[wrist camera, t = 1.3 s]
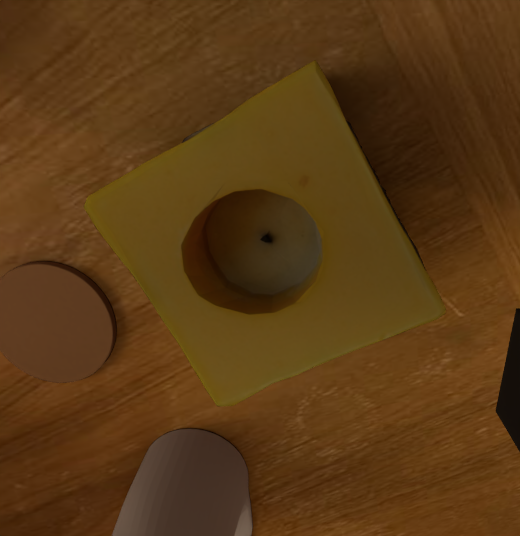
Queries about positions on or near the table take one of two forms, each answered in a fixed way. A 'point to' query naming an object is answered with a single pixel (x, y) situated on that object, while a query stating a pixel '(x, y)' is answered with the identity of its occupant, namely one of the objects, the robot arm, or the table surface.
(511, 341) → the robot arm
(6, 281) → the coaster
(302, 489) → the table surface
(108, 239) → the candle
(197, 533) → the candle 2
